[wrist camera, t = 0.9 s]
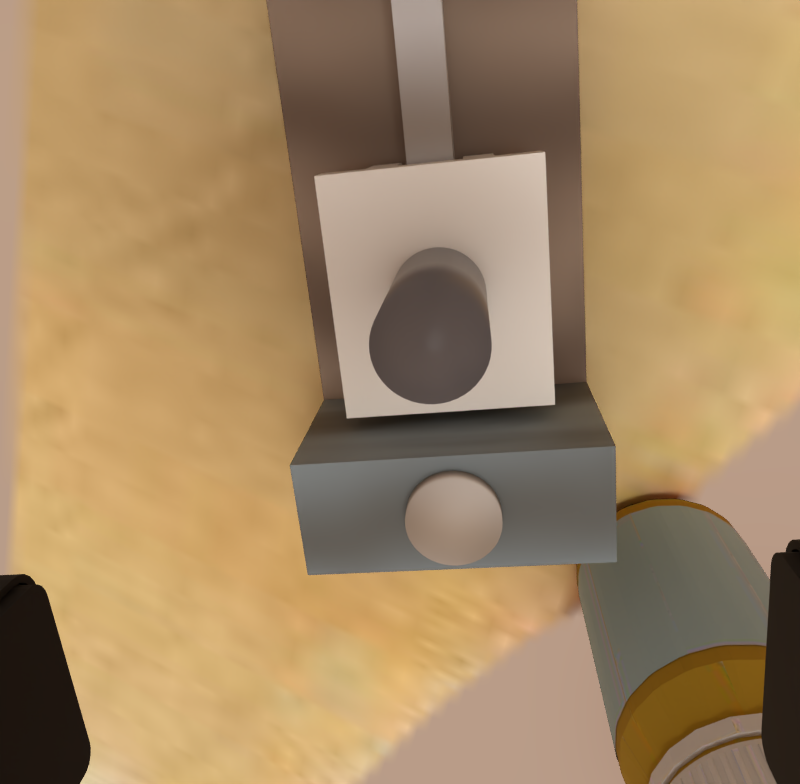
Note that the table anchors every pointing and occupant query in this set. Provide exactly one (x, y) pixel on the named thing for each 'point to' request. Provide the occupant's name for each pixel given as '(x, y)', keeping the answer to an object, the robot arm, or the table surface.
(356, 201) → the carriage
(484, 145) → the rail track
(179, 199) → the table surface
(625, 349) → the table surface
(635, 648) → the bottle
